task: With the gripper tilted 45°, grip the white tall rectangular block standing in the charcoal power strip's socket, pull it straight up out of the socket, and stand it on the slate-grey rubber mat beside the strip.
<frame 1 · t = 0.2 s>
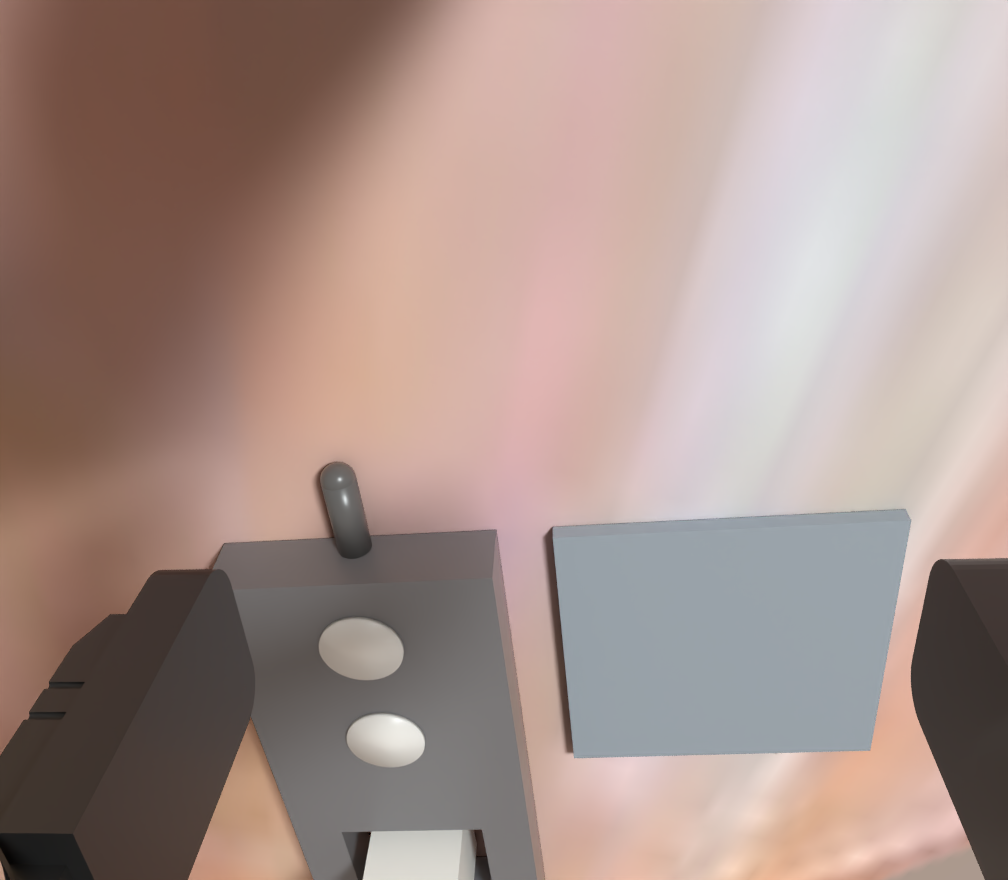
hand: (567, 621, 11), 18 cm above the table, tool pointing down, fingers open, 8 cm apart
power strip: (411, 750, 40), on the table
mat: (721, 640, 36), on the table
white tall rectangular block: (428, 819, 43), resting in power strip
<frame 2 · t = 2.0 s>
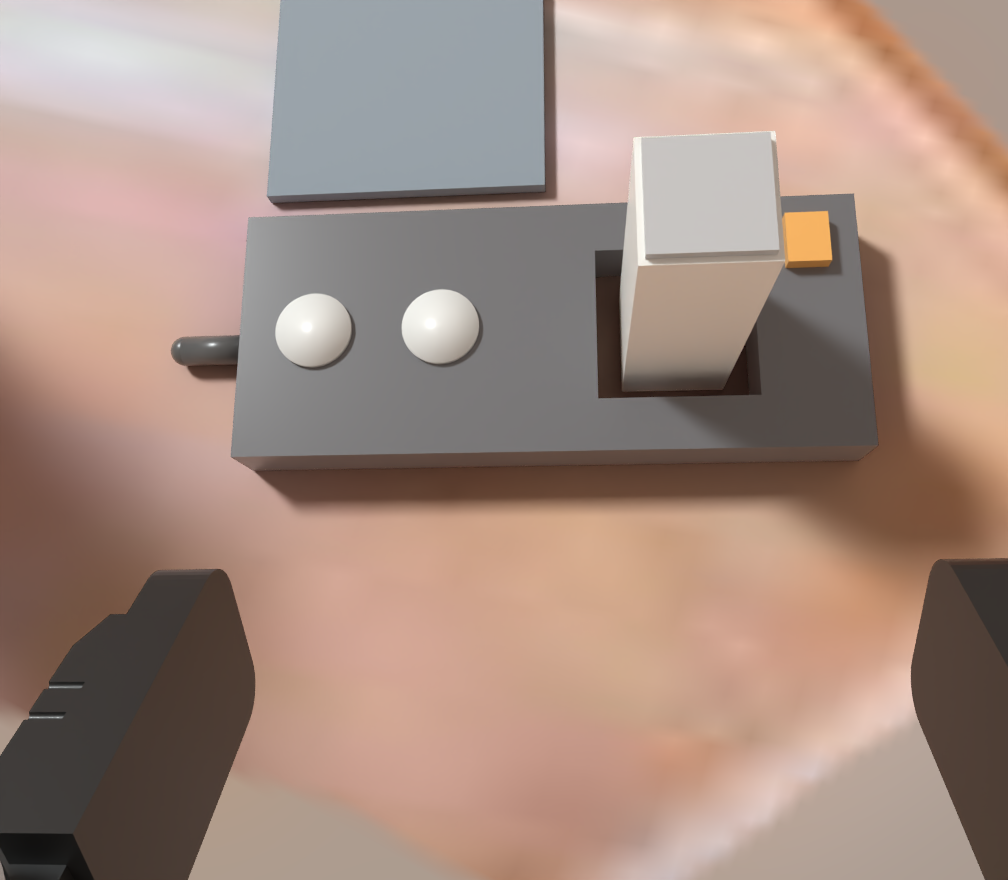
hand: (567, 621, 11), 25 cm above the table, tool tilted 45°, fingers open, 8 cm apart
power strip: (546, 346, 38), on the table
mat: (410, 76, 42), on the table
white tall rectangular block: (670, 343, 38), resting in power strip
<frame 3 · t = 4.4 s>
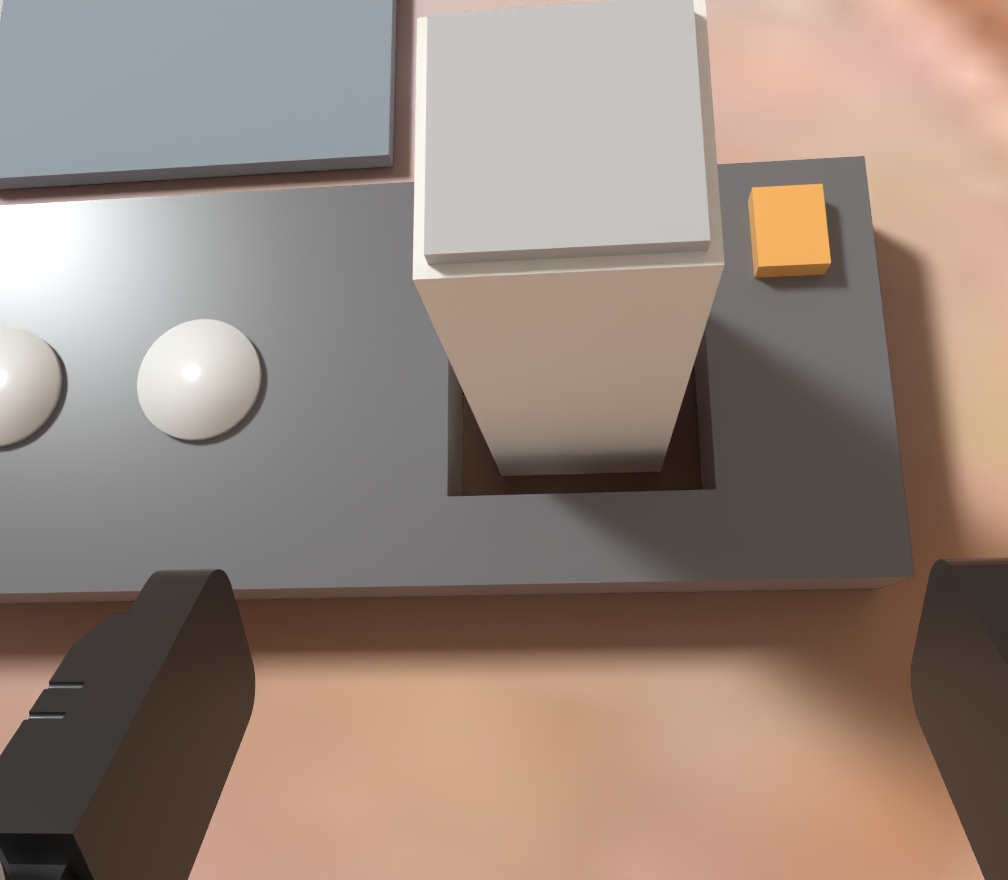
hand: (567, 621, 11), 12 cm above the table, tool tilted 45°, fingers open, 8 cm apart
power strip: (387, 404, 24), on the table
mat: (202, 1, 28), on the table
white tall rectangular block: (578, 398, 24), resting in power strip
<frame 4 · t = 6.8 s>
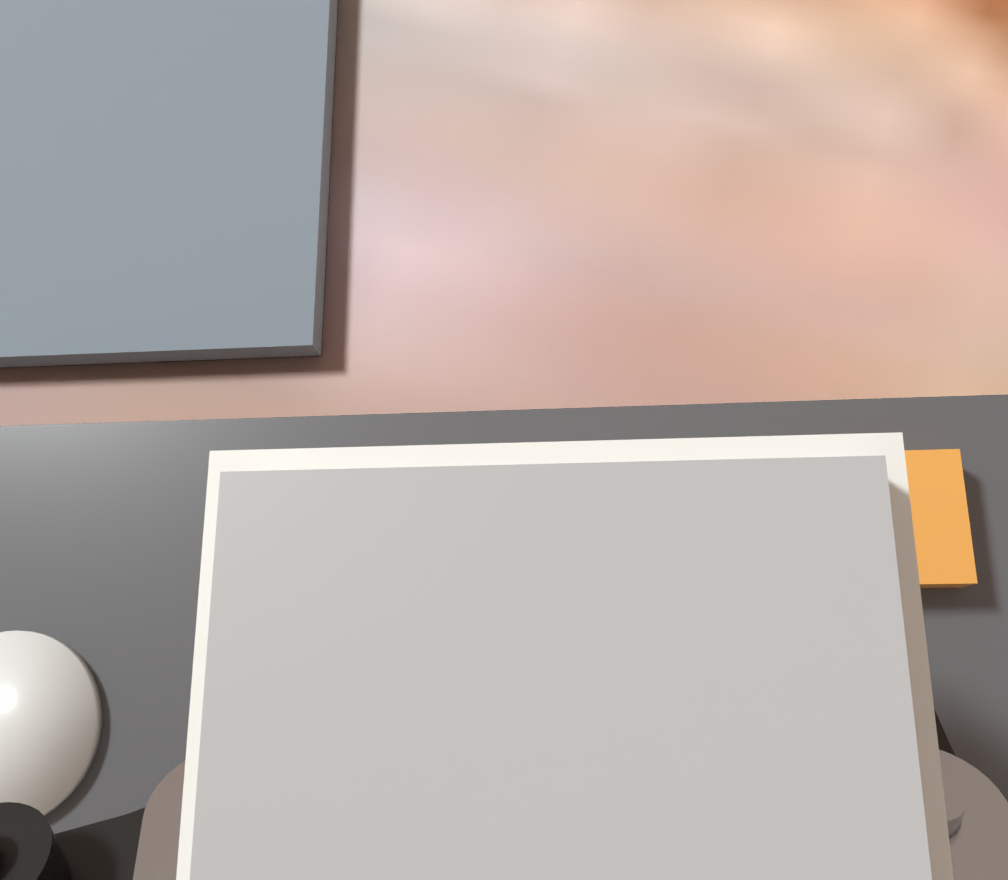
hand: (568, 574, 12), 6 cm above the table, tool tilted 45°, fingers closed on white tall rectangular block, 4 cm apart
power strip: (304, 720, 17), on the table
mat: (68, 110, 21), on the table
white tall rectangular block: (580, 720, 16), resting in power strip, touching gripper
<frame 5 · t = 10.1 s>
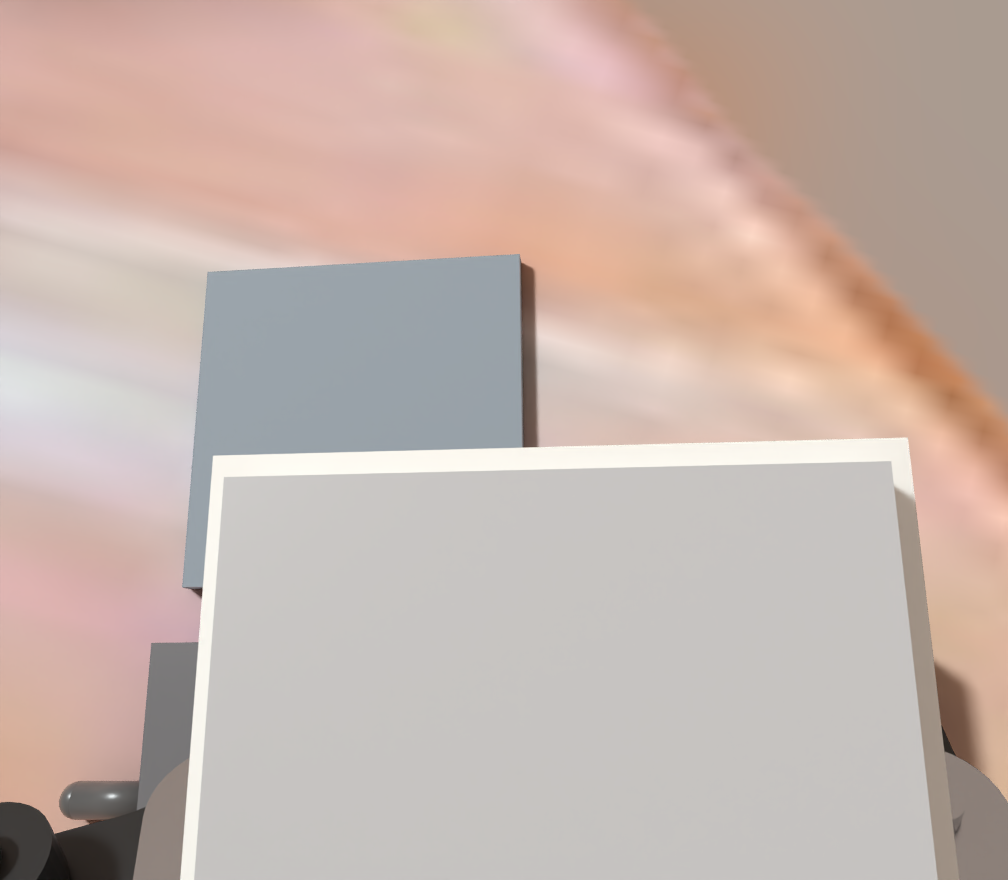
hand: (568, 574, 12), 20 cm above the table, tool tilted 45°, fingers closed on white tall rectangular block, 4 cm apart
power strip: (528, 799, 30), on the table
mat: (359, 420, 34), on the table
white tall rectangular block: (582, 722, 16), point 15 cm above the table, touching gripper
when the fingers open (7 cm above the table, at t = 13.3 s): white tall rectangular block stays where it is, resting on mat.
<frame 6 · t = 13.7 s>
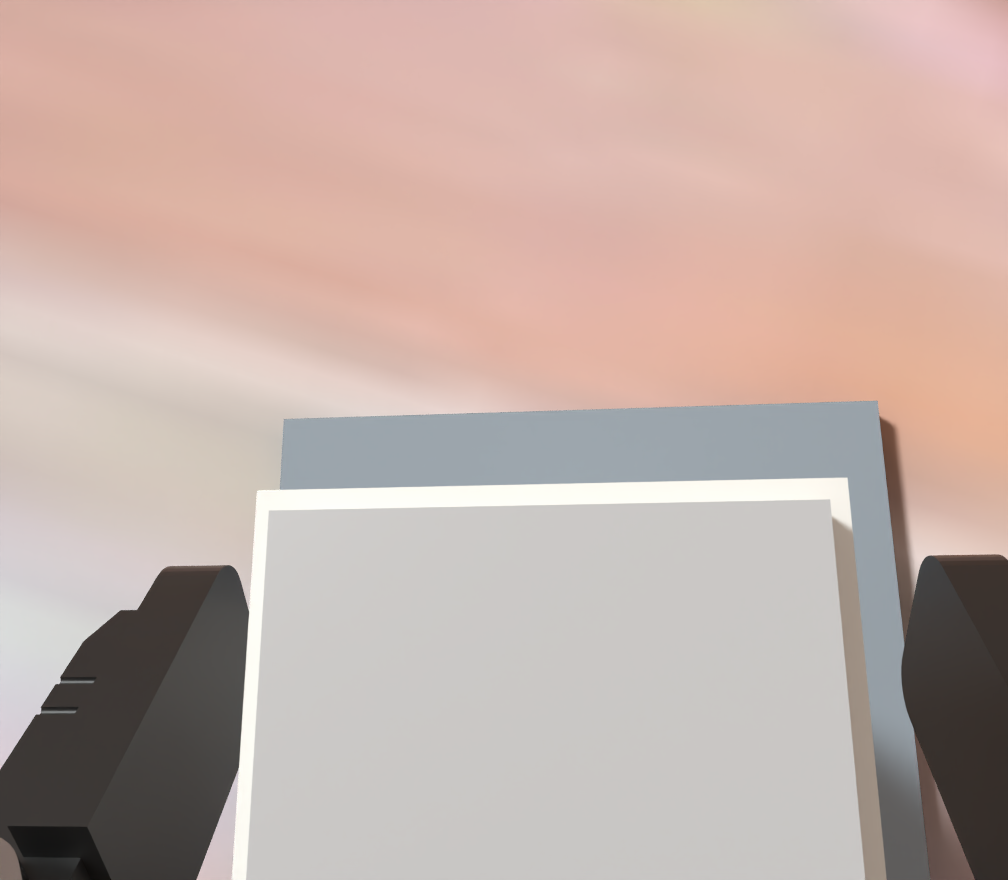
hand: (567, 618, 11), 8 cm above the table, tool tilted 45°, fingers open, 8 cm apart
mat: (580, 717, 18), on the table
white tall rectangular block: (578, 720, 17), point 1 cm above the table, touching mat
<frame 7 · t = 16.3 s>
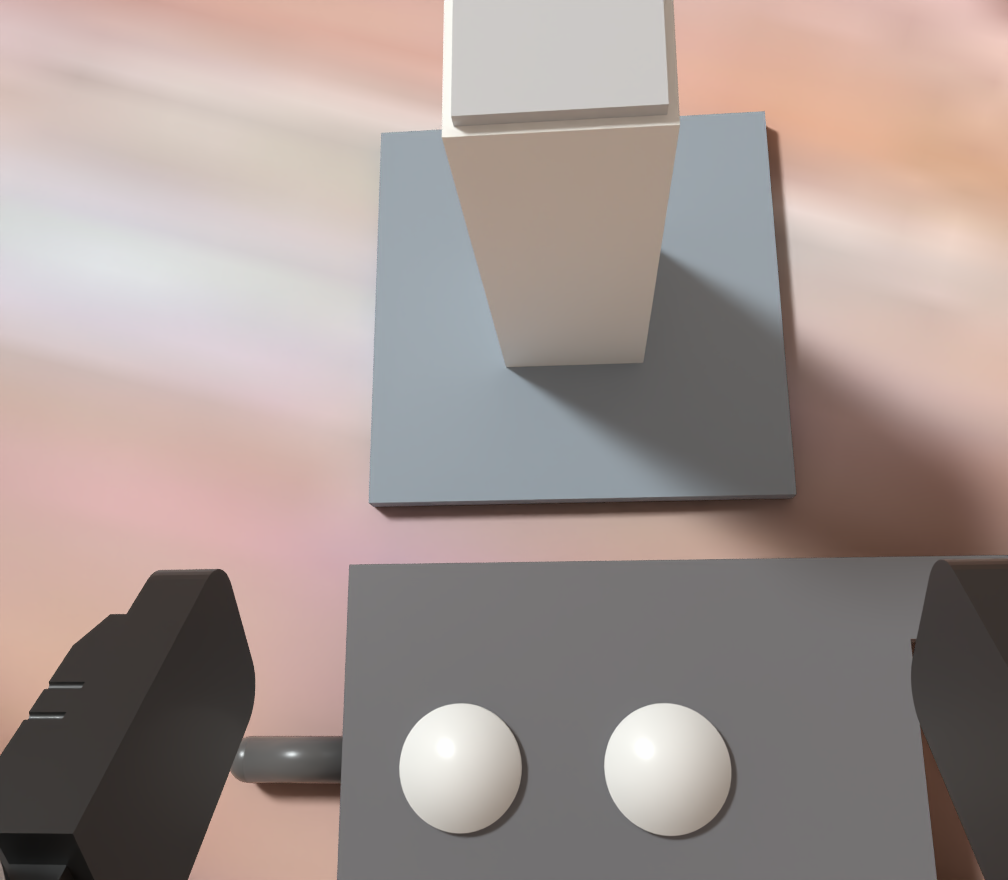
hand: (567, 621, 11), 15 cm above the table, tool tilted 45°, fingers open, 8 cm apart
power strip: (813, 760, 25), on the table
mat: (574, 308, 28), on the table
white tall rectangular block: (572, 301, 28), point 1 cm above the table, touching mat
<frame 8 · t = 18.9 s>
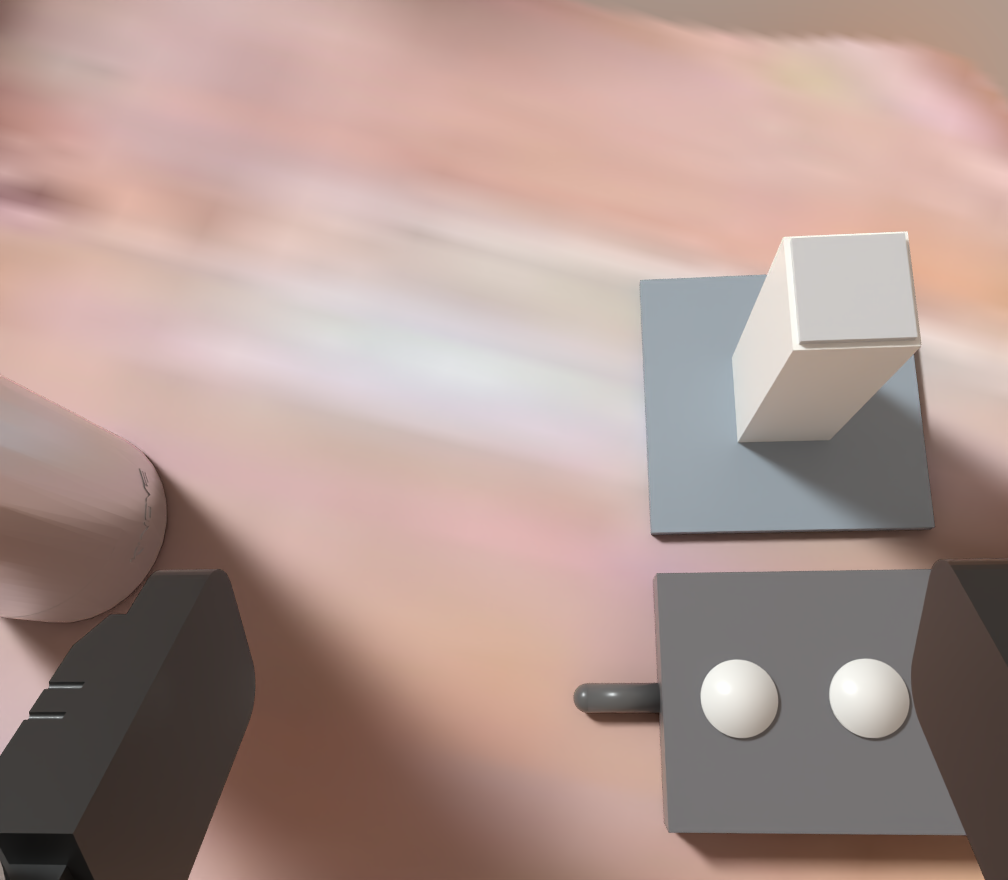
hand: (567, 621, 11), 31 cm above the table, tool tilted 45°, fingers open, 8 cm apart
power strip: (950, 696, 39), on the table
mat: (777, 401, 42), on the table
white tall rectangular block: (779, 398, 42), point 1 cm above the table, touching mat
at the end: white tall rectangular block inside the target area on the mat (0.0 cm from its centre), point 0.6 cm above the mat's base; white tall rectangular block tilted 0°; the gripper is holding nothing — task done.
